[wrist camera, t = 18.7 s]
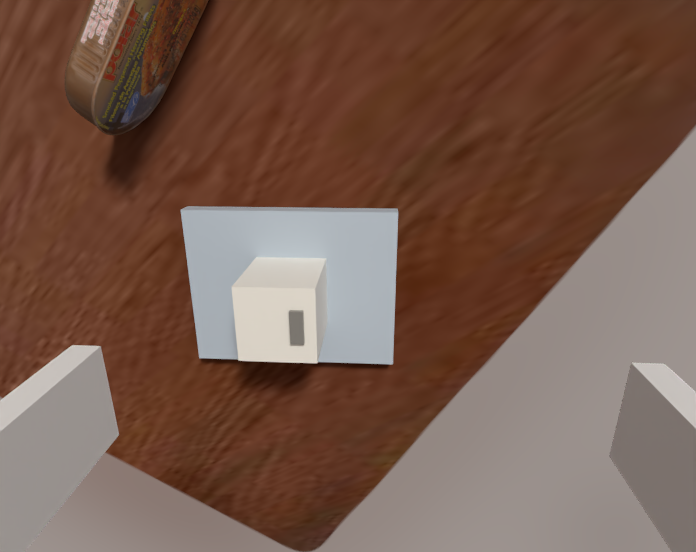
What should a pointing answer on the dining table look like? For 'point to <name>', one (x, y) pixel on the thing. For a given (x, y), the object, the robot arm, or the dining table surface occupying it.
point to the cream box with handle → (281, 310)
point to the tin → (127, 58)
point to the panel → (297, 242)
